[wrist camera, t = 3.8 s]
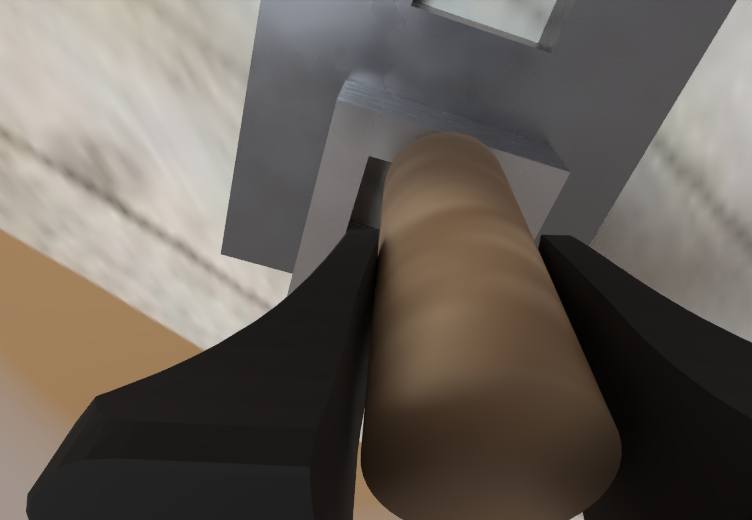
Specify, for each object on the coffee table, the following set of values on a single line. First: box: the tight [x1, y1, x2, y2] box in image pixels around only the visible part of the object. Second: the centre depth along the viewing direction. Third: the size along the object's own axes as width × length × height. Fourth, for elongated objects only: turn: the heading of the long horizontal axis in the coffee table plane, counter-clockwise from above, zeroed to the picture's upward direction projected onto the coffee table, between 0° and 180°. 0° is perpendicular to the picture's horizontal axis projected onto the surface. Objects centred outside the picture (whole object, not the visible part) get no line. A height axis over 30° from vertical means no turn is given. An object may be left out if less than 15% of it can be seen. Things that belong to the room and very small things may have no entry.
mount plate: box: [221, 0, 736, 296], centre depth 17 cm, size 14×18×4 cm
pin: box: [361, 132, 622, 520], centre depth 11 cm, size 3×3×9 cm
